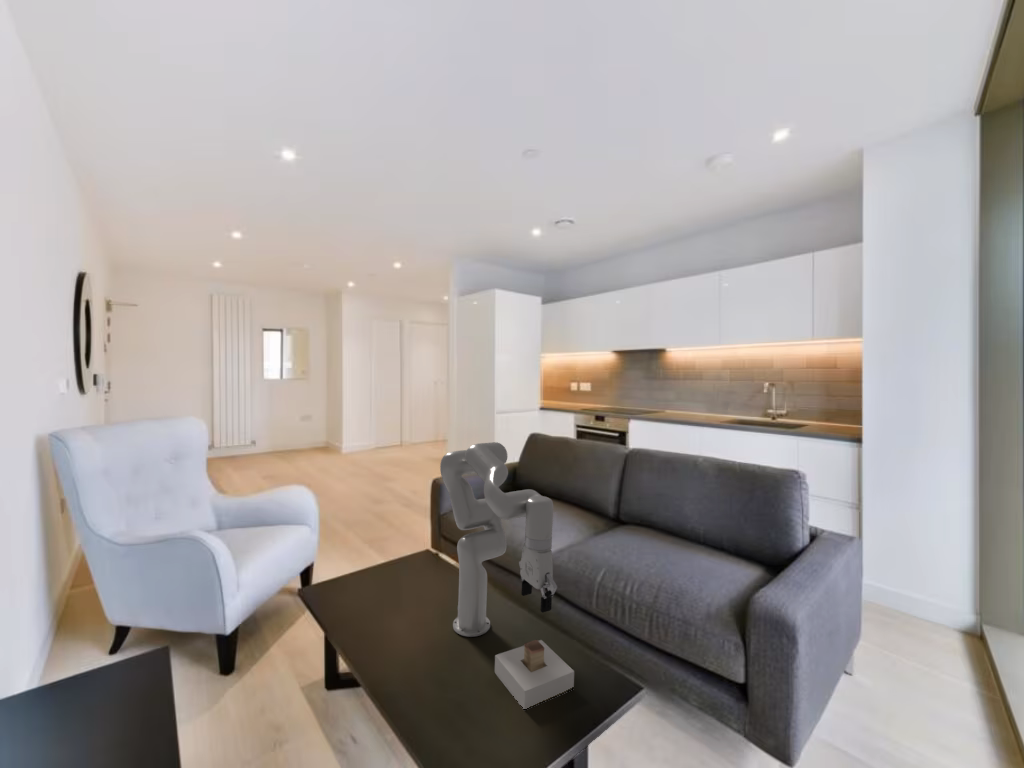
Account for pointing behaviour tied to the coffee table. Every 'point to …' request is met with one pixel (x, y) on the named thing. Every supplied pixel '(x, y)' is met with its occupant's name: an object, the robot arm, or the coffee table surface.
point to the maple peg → (533, 655)
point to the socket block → (533, 676)
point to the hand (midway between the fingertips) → (535, 602)
